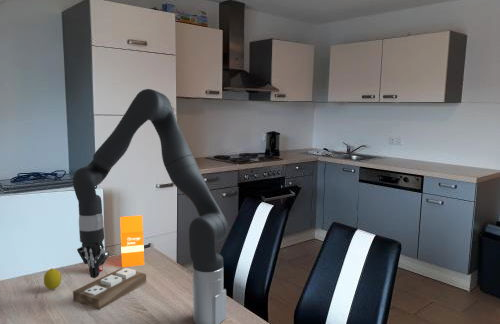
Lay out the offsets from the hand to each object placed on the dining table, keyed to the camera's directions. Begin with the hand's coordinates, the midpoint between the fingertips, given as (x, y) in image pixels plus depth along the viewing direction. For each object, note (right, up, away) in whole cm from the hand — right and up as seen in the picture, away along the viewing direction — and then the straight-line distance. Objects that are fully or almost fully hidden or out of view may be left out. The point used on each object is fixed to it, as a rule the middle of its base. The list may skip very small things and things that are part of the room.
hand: (94, 276), depth 132 cm
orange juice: (+3, -4, +33) cm, 34 cm away
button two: (+3, -5, +7) cm, 10 cm away
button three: (0, -7, +1) cm, 7 cm away
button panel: (+3, -7, +8) cm, 11 cm away
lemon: (-18, -7, +8) cm, 21 cm away
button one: (+6, -4, +14) cm, 16 cm away
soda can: (-9, -5, +24) cm, 26 cm away
